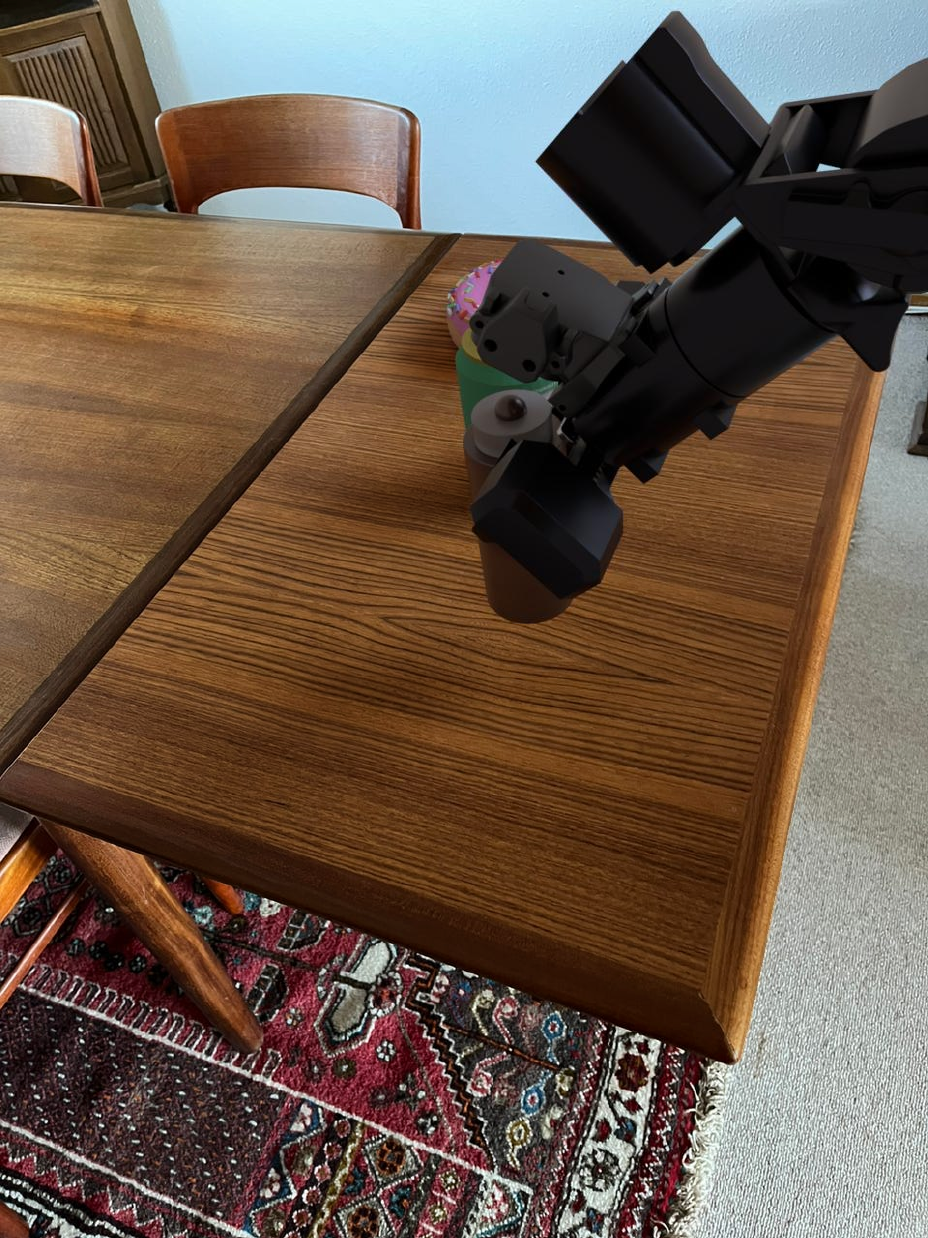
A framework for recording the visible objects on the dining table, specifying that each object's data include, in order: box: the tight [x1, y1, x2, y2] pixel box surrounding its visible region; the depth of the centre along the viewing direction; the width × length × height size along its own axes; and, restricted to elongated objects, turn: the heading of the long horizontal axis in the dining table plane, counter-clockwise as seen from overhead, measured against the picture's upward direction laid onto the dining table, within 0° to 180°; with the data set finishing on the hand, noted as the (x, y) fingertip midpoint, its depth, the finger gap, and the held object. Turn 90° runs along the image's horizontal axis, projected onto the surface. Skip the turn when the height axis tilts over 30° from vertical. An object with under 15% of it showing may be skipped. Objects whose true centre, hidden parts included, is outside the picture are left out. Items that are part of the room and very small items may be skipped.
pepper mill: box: [462, 390, 574, 625], centre depth 50 cm, size 5×5×14 cm
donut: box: [445, 257, 505, 349], centre depth 85 cm, size 14×14×5 cm
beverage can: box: [454, 327, 558, 432], centre depth 68 cm, size 8×8×12 cm
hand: (498, 502), depth 51 cm, fingers closed on pepper mill, 5 cm apart
